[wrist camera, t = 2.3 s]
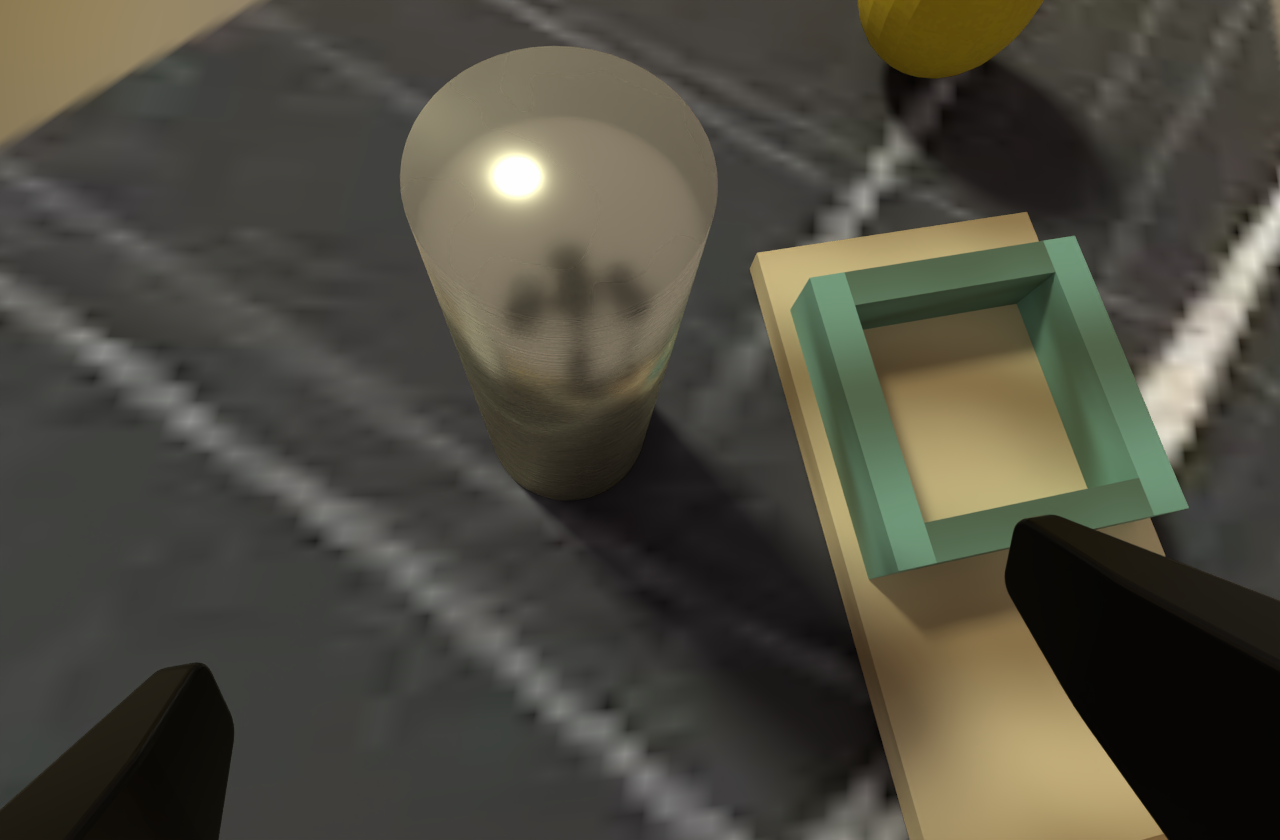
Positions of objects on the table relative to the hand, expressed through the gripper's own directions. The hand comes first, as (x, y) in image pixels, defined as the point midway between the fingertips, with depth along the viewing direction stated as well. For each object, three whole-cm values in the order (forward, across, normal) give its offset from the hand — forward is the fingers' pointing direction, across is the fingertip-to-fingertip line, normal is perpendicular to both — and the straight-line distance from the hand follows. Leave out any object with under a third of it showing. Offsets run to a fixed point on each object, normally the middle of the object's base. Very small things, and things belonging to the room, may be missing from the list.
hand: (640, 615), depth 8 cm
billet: (+13, 0, +5) cm, 14 cm away
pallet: (+7, -11, +11) cm, 17 cm away
